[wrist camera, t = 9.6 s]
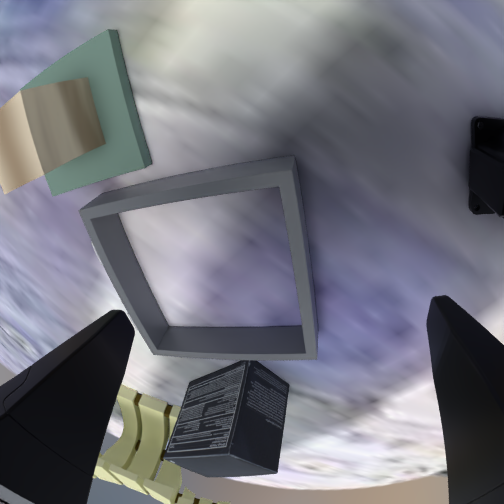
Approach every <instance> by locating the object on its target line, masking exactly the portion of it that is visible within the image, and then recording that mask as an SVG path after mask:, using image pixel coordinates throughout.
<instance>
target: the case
mask: <svg viewBox="0 0 504 504" xmlns="http://www.w3.org/2000/svg"><path fill="white" fill-rule="evenodd" d="M272 187H279V189H280V194H281V200H282V205H283V211H284V216H285V222H286V228H287V233H288V239H289V245H290V251H291V257H292V263H293V269H294V275H295V282H296V288H297V294H298V301H299V308H300V314H301V321H302V326H284V327H170V326H168V324H167V322H166V320H165V318H164V316H163V314H162V312H161V310H160V308H159V306H158V304H157V302H156V300H155V298H154V296H153V294H152V292H151V290H150V288H149V286H148V283H147V281H146V279H145V277H144V275H143V273H142V271H141V268H140V266H139V264H138V262H137V259H136V257H135V255H134V253H133V250H132V248H131V246H130V243H129V241H128V239H127V236H126V234H125V231H124V229H123V226H122V224H121V221H120V219H119V216H118V214H117V213H120V212H125V211H130V210H135V209H140V208H145V207H151V206H156V205H161V204H167V203H173V202H178V201H184V200H190V199H196V198H202V197H208V196H215V195H221V194H228V193H235V192H242V191H249V190H256V189H264V188H272ZM79 213H80V215H81V218H82V220H83V223H84V225H85V227H86V229H87V232H88V234H89V236H90V238H91V241H92V242H91V244H92V246H93V248H94V250H95V252H96V255H97V257H98V259H99V261H100V263H101V265H103V266H104V268H105V270H106V272H107V274H108V276H109V278H110V280H111V282H112V284H113V286H114V288H115V290H116V291H117V293H118V295H119V297H120V299H121V301H122V303H123V304H124V306H125V308H126V310H127V311H128V313H127V314H128V316H129V317H130V319H131V321H132V323H133V324H134V326H135V328H136V329H137V330H139V332H140V334H141V335H142V337H143V339H144V340H145V342H146V344H147V345H148V347H149V349H150V350H151V352H152V353H153V355H162V356H174V357H187V358H202V359H222V360H317V352H318V323H317V313H316V303H315V294H314V285H313V276H312V267H311V259H310V251H309V244H308V236H307V229H306V222H305V215H304V208H303V202H302V195H301V189H300V182H299V176H298V170H297V164H296V159H295V155H294V156H286V157H279V158H272V159H265V160H258V161H252V162H245V163H239V164H233V165H228V166H222V167H216V168H211V169H206V170H201V171H195V172H190V173H186V174H181V175H176V176H171V177H167V178H162V179H158V180H154V181H149V182H145V183H141V184H137V185H133V186H129V187H125V188H121V189H117V190H113V191H110V192H106V193H102V194H100V195H99V196H98V197H96V198H95V199H94V200H92V201H91V202H89V203H88V204H87V205H85V206H84V207H83V208H81V209H80V210H79Z"/></svg>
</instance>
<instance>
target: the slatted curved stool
mask: <svg viewBox="0 0 504 504" xmlns="http://www.w3.org/2000/svg"><path fill="white" fill-rule="evenodd" d="M117 400H118V403H119V406H120V409H121V412H122V416H123V422H124V429H123V433H122V435H121V437H120V438H119V440H118V441H117V442H116V443H115V444H114V445H113V446H112V447H110V448H109V449H108V450H107V451H106V453H105V454H104V455H103V456H102V455H101V454H100V453H99V457H98V460H97V464H96V468H95V471H94V475H93V478H96V477H98V478H100V479H102V480H106V481H110V482H113V483H117V484H120V485H123V484H125V485H126V486H127V487H129V488H132V489H134V490H137V491H139V492H142V493H144V494H146V495H148V494H150V495H151V496H152V497H153V498H155V499H157V500H159V501H161V502H163V503H165V504H175V503H177V504H230V502H220V501H219V502H217V503H212V500H208V499H205V498H202V497H201V498H200V499H197V498H195V494H194V493H192V492H191V491H189V490H188V489H187V488H186V487H185V489H184V492H183V494H180V493H179V490H180V487H181V483H182V477H181V467H180V466H178V465H176V464H174V463H171V462H169V461H167V460H165V459H163V457H164V455H165V452H166V450H165V448H166V445H167V442H168V438H169V440H170V437H171V435H172V432H173V429H174V426H175V423H176V421H177V418H178V415H179V412H180V409H181V407H179V406H176V405H173V407H172V406H169V405H167V402H165V401H162V400H159V399H156V398H154V397H151V396H148V395H146V394H143V395H140V394H138V392H137V391H136V390H133V389H131V388H129V387H126V386H124V385H121V386H120V389H119V392H118V395H117ZM168 418H169V419H170V437H169V419H168ZM136 452H137V453H136ZM161 461H163V464H162V467H161V469H160V471H159V474H158V476H157V478H156V479H155V481H154V478H155V476H156V473H157V470H158V468H159V465H160V462H161Z"/></svg>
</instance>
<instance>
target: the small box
mask: <svg viewBox="0 0 504 504" xmlns="http://www.w3.org/2000/svg"><path fill="white" fill-rule="evenodd" d="M288 391H289V384H287V383H286V382H284V381H283V380H282V379H280V378H279V377H278V376H276V375H275V374H273V373H272V372H271V371H269V370H268V369H266V368H265V367H264V366H262V365H261V364H260V363H258V362H257V361H256V360H242V361H240V362H238V363H236V364H233V365H231V366H229V367H226V368H224V369H222V370H219V371H217V372H215V373H212V374H210V375H207V376H205V377H202V378H200V379H197V380H195V381H192V382H190V383H189V385H188V388H187V391H186V394H185V397H184V401H183V404H182V406H181V409H180V412H179V415H178V418H177V421H176V423H175V426H174V429H173V432H172V435H171V437H170V440H169V443H168V446H167V449H166V452H165V455H164V457H163V459H165V460H167V461H169V462H171V463H174V464H176V465H178V466H180V467H183V468H185V469H188V470H190V471H192V472H195V473H198V474H200V475H203V476H205V477H240V476H256V475H267V474H277V473H278V465H279V458H280V451H281V444H282V437H283V430H284V423H285V415H286V407H287V399H288Z"/></svg>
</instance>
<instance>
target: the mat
mask: <svg viewBox="0 0 504 504" xmlns="http://www.w3.org/2000/svg"><path fill="white" fill-rule="evenodd" d="M87 77H88V80H89V85H90V89H91V93H92V96H93V100H94V104H95V108H96V111H97V115H98V119H99V122H100V126H101V129H102V132H103V136H104V139H105V142H106V144H104V145H102V146H100V147H97V148H95V149H93V150H91V151H89V152H87V153H85V154H83V155H81V156H79V157H77V158H75V159H73V160H71V161H69V162H67V163H65V164H63V165H61V166H59V167H57V168H56V169H54V170H52V171H50V172H48V173H47V174H45V177H46V180H47V183H48V185H49V188H50V191H51V193H52V196H56V195H59V194H62V193H65V192H68V191H71V190H73V189H76V188H79V187H82V186H85V185H89V184H92V183H95V182H98V181H101V180H105V179H108V178H111V177H115V176H118V175H121V174H125V173H128V172H132V171H136V170H139V169H143V168H146V167H147V166H149V165H150V164H152V162H151V158H150V155H149V152H148V148H147V145H146V142H145V138H144V135H143V132H142V128H141V125H140V121H139V118H138V114H137V110H136V107H135V103H134V99H133V96H132V92H131V88H130V84H129V80H128V76H127V72H126V68H125V64H124V60H123V55H122V51H121V47H120V42H119V38H118V33H117V30H109V29H108V30H106V31H104V32H103V33H101V34H99V35H97V36H96V37H94V38H92V39H90V40H89V41H87V42H85V43H84V44H82V45H81V46H79V47H77V48H76V49H74V50H73V51H71V52H70V53H68V54H67V55H65V56H64V57H62V58H61V59H59V60H58V61H57V62H55V63H54V64H52V65H51V66H50V67H48V68H47V69H45V70H44V71H43V72H41V73H40V74H39V75H38V76H36V77H35V78H34V79H32V80H31V81H30V82H29V83H27V84H26V85H25V86H24V87H23V88H21V89H20V91H21V90H25V89H29V88H33V87H38V86H42V85H47V84H52V83H57V82H62V81H68V80H74V79H80V78H87Z"/></svg>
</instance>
